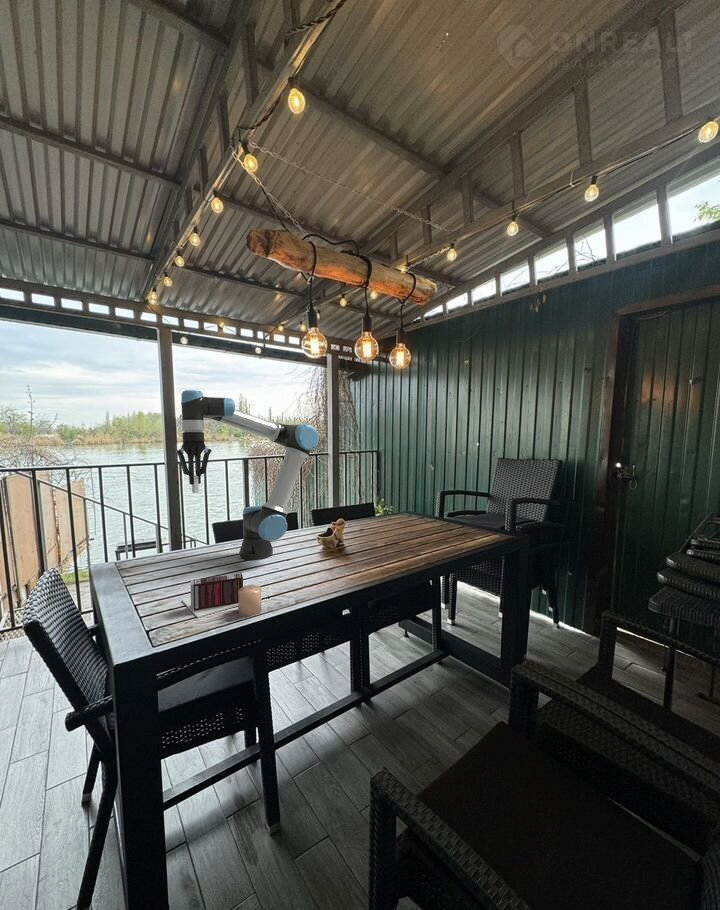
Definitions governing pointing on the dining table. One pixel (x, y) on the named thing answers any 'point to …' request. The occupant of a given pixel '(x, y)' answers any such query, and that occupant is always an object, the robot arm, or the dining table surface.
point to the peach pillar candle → (249, 600)
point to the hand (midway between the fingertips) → (195, 492)
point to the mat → (209, 610)
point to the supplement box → (215, 591)
